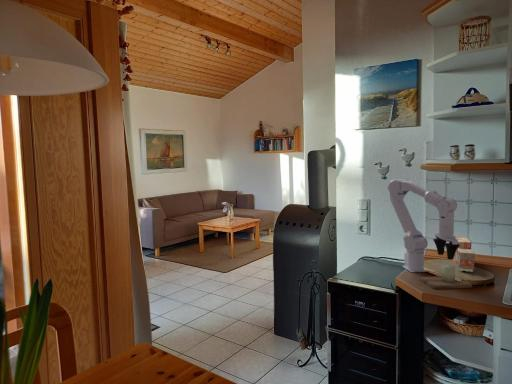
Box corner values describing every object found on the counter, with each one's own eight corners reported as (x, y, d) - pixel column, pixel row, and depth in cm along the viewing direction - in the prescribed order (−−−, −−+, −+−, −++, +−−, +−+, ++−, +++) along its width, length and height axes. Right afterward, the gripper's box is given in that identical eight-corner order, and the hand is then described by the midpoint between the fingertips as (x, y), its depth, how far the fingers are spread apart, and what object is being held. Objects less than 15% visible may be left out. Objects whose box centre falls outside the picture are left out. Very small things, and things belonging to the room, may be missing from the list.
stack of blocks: (474, 273, 178) (475, 246, 177) (459, 272, 180) (460, 246, 179) (466, 260, 198) (466, 237, 197) (452, 260, 200) (453, 236, 199)
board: (419, 279, 170) (419, 277, 170) (455, 278, 171) (455, 275, 171) (434, 289, 158) (434, 286, 158) (472, 287, 159) (472, 284, 159)
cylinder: (438, 279, 167) (439, 265, 166) (449, 278, 167) (449, 264, 167) (446, 282, 162) (446, 268, 161) (457, 281, 163) (457, 267, 162)
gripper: (465, 229, 163) (464, 261, 164) (445, 223, 177) (445, 252, 178) (449, 229, 162) (448, 261, 163) (430, 223, 177) (430, 253, 178)
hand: (445, 256), depth 171 cm, fingers open, 7 cm apart
